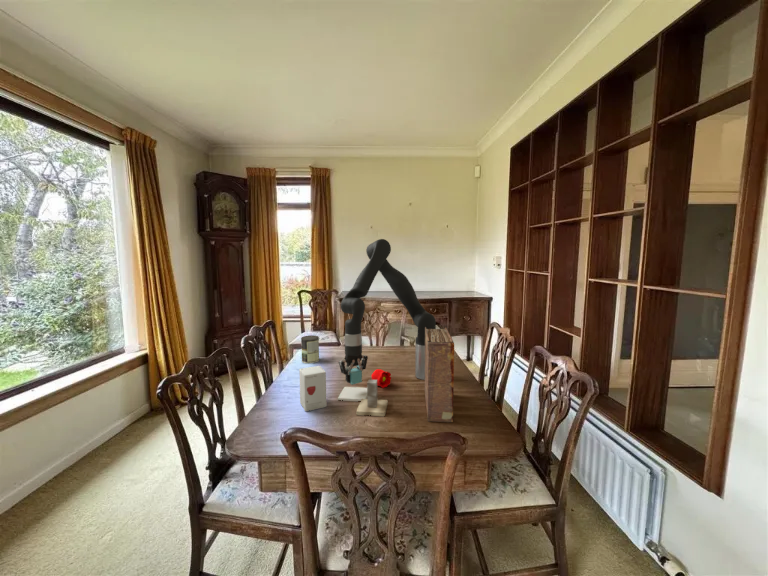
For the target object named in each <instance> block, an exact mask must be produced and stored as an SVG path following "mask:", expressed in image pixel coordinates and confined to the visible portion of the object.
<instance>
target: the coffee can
mask: <svg viewBox="0 0 768 576" xmlns="http://www.w3.org/2000/svg"><path fill="white" fill-rule="evenodd" d="M319 339H320V337H319V336H318V335H304V336H302V337H300V340H301V341H300V343H301V363H303V364H314V363H318V362H319V361H320V340H319Z"/></svg>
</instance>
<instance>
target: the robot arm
mask: <svg viewBox="0 0 768 576" xmlns="http://www.w3.org/2000/svg"><path fill="white" fill-rule="evenodd" d="M391 252H392V246H391V244H390V242H389V241H388V240H387V239H384V238H380V239H379V238H378V239H376V240H375V241H373V242H371V243H370V244H368V245H367V247H366V256H367V257H368V259H369V261H368V262H367V264H366V265H365V267H364V268H363V269H362V270H361V271H360V273H359V274H358V276H357V278H356V280H355V282H354V284H353V286H352V288H351V289H350V290H349V291H348V292H347V293H346V294H345V296H343V298H342V300H341V303H340V309H341V311H342V313H344V314H349V315H352V317H351V318H349V319H347V320H345V322H344V355H345V357H344V359H341V360H338V364H339V369H340V372H341V374H343V375H345V381H346V383H347V384H350V372H351V370H352V369H353V367H354V368H357V369H359V370H361V371H362V372H363V371H364V370H366V368H367V364H368V355H365V354H363V337H362V322H363V318H364V313H365V309H366V305H365V302H364V300H363V299H362V298H364V297H366V296H367V295H368V293H369V290H370V288H371V286H372V284H373V282H374V281H375V278H376V276H377V274H378V273H380V274H381V275H382V277H383V278H384V279H385V281H386V282H387V284H388V285H389V287H390V288H391V290H392V291H393V293H394V295H395V297H396V298H398V300H399V301H400V302H401V304H402V305H403V306H404V308H405V309H406V310H407V312H408V314H409V316H410V318H411V319H412V321H413V323H414V325H415V327H416V328H417V334H416V335H417V336H416V337H415V372H414V374H415V377H416V379H419V380H424V381H425V327H426V329H437V326H436V325H437V323H436V318H435V316H434V315H433V314H432V313H430V312H428V311H427V310H426V309H425V308H424V306H423V305H422V304H421V302H420V301H419V299H418V297H417V294H416V292H415V289H414V287H413V285H412V283H411V282H410V280H409V279H408V277H407V276H406V275H405V274H404V273H403V272H401V271H399V269H397V268H395V267H394V266H393V265H392V264H391V263H390V262H389V260H388V258H389V256H390V254H391Z"/></svg>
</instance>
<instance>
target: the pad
mask: <svg viewBox="0 0 768 576" xmlns="http://www.w3.org/2000/svg"><path fill="white" fill-rule="evenodd" d="M361 399H367V387H357V386H344V387H343V389H342V390H341V391H340V394H339V395H338V397H337V401H338V400H341V401H340V402H358V401H361ZM342 400H343V401H342Z"/></svg>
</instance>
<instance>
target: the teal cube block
mask: <svg viewBox="0 0 768 576" xmlns="http://www.w3.org/2000/svg"><path fill="white" fill-rule="evenodd" d="M362 382H363V370H362V371H361V370H359V369H357V367H354V368H353V367H352V370H351V372H350V383H349V384H350V385H352V386H353V385H356V384H360V383H362Z"/></svg>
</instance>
